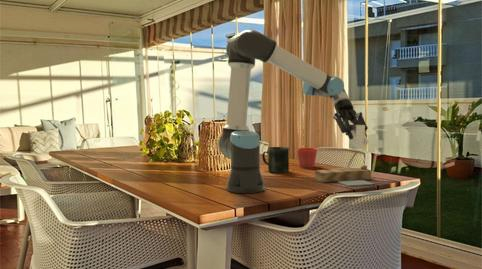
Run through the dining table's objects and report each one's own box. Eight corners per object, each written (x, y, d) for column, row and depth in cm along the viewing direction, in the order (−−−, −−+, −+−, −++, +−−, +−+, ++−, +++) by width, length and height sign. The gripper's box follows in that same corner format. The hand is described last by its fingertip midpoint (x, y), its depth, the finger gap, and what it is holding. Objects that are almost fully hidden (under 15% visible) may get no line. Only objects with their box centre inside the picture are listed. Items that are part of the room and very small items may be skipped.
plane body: (321, 182, 180) (321, 169, 179) (314, 179, 186) (314, 166, 186) (371, 178, 186) (371, 166, 185) (362, 176, 192) (363, 164, 192)
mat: (348, 186, 170) (348, 185, 170) (337, 182, 178) (337, 181, 178) (373, 184, 173) (373, 183, 172) (362, 180, 181) (362, 179, 181)
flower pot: (293, 165, 226) (293, 148, 226) (311, 164, 230) (311, 147, 229) (301, 168, 216) (301, 150, 216) (320, 167, 220) (320, 149, 219)
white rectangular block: (356, 149, 171) (356, 125, 170) (348, 147, 177) (349, 124, 176) (364, 148, 172) (364, 125, 171) (357, 147, 178) (357, 124, 177)
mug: (284, 174, 201) (284, 149, 200) (257, 171, 208) (257, 148, 207) (292, 170, 210) (292, 147, 209) (267, 168, 217) (267, 146, 216)
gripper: (356, 109, 190) (376, 148, 175) (322, 110, 186) (339, 150, 171) (362, 97, 184) (383, 137, 170) (327, 98, 180) (346, 139, 166)
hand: (361, 144), depth 171 cm, fingers closed on white rectangular block, 4 cm apart
